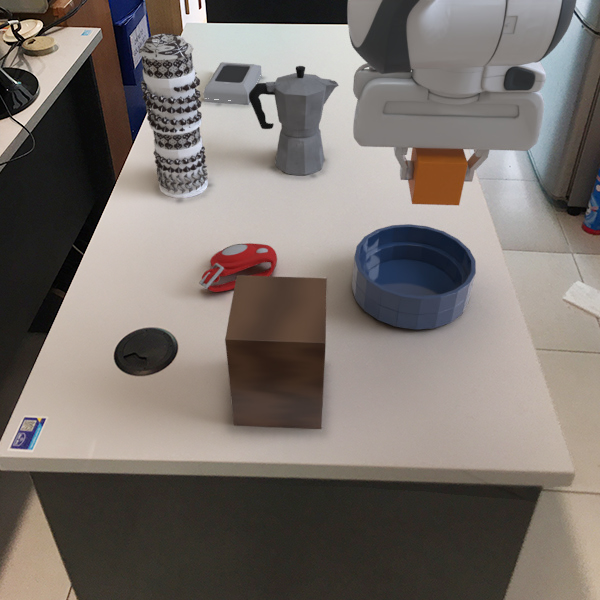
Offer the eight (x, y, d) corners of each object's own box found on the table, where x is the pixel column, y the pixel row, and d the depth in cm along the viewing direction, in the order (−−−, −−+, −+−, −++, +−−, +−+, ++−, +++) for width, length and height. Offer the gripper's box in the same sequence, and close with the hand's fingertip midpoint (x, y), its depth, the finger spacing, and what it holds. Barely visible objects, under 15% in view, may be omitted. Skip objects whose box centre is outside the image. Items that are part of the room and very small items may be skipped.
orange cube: (452, 180, 77) (460, 140, 74) (459, 205, 73) (468, 163, 70) (407, 179, 77) (413, 138, 74) (411, 204, 73) (418, 162, 70)
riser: (322, 363, 79) (326, 278, 70) (321, 428, 71) (325, 342, 62) (243, 360, 79) (236, 275, 70) (233, 425, 72) (224, 339, 62)
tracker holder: (213, 241, 96) (276, 231, 94) (221, 267, 98) (283, 258, 96) (190, 275, 85) (260, 266, 83) (199, 304, 87) (268, 295, 85)
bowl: (482, 278, 92) (490, 245, 88) (444, 348, 81) (452, 314, 77) (380, 245, 97) (383, 212, 93) (332, 306, 87) (334, 272, 83)
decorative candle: (209, 169, 114) (194, 26, 97) (211, 197, 107) (197, 48, 90) (157, 173, 113) (134, 29, 96) (157, 201, 106) (132, 51, 89)
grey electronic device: (260, 60, 143) (247, 87, 132) (261, 76, 145) (248, 104, 134) (219, 58, 144) (202, 84, 133) (221, 74, 146) (204, 101, 135)
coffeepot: (328, 147, 120) (332, 53, 108) (340, 172, 113) (346, 74, 101) (248, 155, 118) (243, 59, 106) (256, 181, 111) (251, 81, 99)
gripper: (355, 71, 63) (347, 190, 72) (563, 76, 62) (528, 195, 71) (354, 47, 67) (346, 162, 77) (547, 52, 67) (516, 167, 76)
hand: (435, 178), depth 74 cm, fingers closed on orange cube, 5 cm apart
